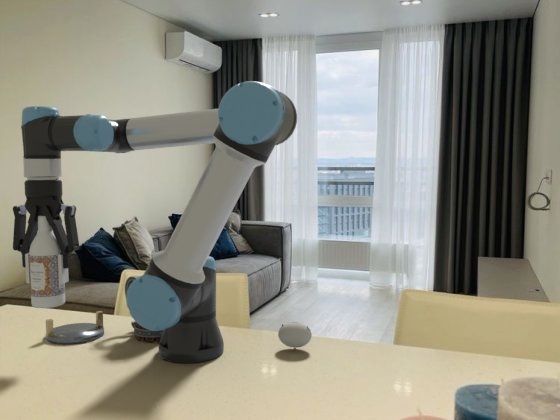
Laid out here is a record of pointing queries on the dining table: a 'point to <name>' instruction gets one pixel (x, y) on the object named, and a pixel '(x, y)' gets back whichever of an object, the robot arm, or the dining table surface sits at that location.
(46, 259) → the bath foam
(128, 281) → the mug
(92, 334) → the disc
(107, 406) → the dining table surface
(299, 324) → the figurine
